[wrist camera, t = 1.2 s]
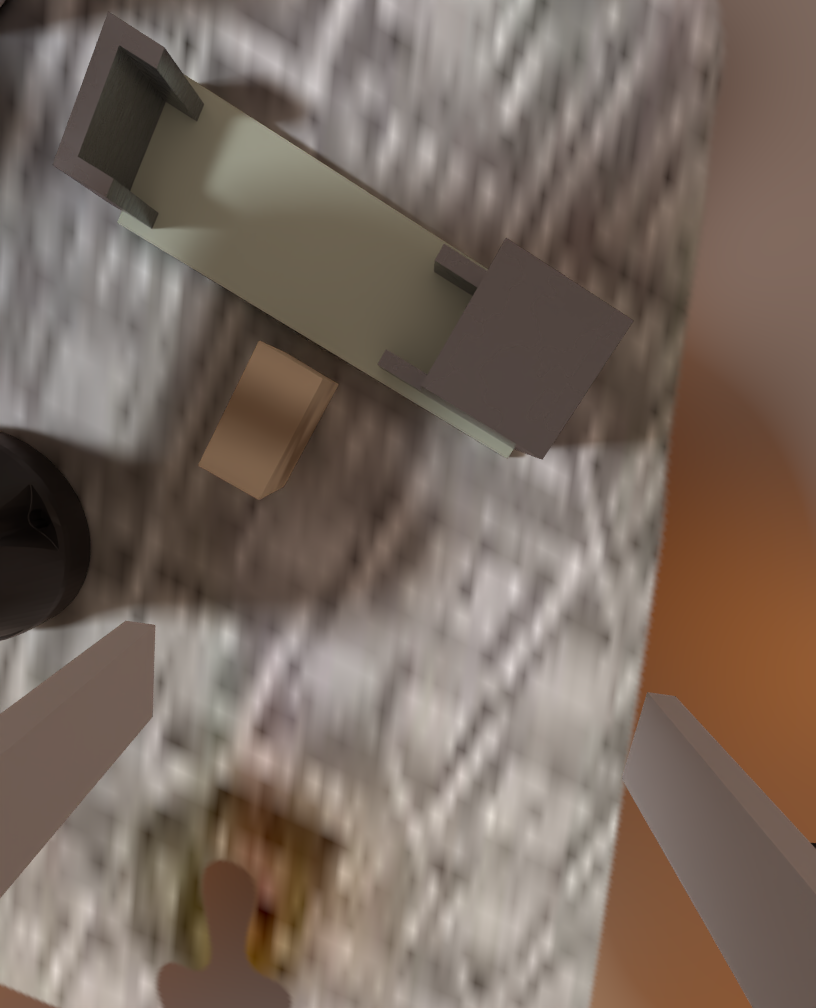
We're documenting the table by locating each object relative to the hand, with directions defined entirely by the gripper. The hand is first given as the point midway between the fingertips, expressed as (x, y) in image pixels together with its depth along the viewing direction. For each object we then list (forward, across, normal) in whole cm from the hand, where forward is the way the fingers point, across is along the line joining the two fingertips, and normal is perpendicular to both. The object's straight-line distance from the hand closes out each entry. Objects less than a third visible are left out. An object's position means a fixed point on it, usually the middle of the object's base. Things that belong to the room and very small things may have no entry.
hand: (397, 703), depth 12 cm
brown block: (+20, -9, +6) cm, 23 cm away
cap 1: (+19, -18, +20) cm, 33 cm away
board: (+20, -5, +15) cm, 25 cm away
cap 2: (+19, +3, +11) cm, 22 cm away
